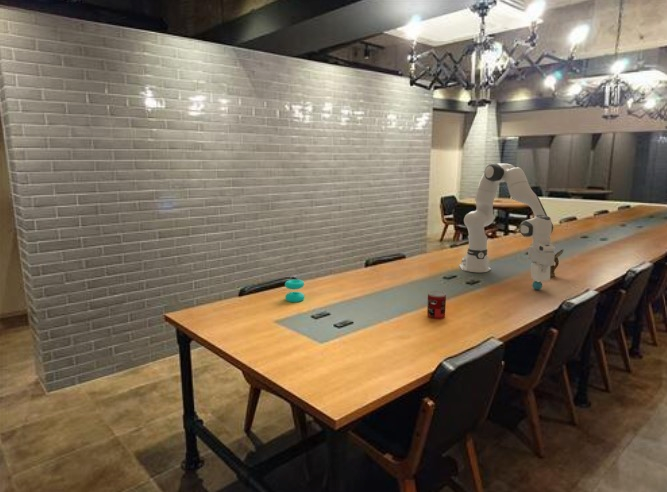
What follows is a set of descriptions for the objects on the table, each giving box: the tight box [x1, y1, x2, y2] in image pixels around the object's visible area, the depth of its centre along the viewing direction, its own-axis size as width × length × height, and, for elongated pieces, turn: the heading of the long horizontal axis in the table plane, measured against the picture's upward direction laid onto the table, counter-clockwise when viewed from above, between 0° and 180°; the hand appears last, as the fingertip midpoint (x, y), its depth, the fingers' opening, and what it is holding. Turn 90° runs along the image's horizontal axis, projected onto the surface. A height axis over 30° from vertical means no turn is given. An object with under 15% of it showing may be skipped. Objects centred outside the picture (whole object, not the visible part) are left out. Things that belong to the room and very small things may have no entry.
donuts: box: [284, 278, 306, 303], centre depth 228 cm, size 10×10×10 cm
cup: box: [530, 262, 551, 283], centre depth 240 cm, size 7×7×9 cm
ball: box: [531, 280, 543, 291], centre depth 241 cm, size 5×5×5 cm
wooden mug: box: [550, 248, 564, 278], centre depth 267 cm, size 9×14×18 cm, turn 35°
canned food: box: [426, 290, 447, 320], centre depth 201 cm, size 8×8×11 cm
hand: (539, 270), depth 240 cm, fingers closed on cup, 7 cm apart
